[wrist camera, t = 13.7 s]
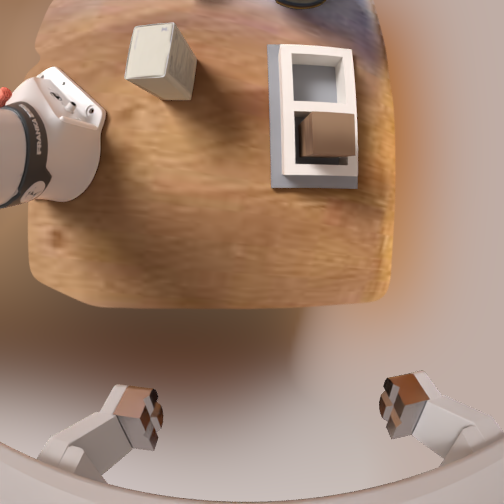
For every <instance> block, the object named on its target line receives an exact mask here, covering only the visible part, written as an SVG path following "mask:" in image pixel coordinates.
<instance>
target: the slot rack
mask: <svg viewBox="0 0 504 504" xmlns="http://www.w3.org/2000/svg"><path fill="white" fill-rule="evenodd" d="M267 55H268V82H269V114H270V155H271V188H346V189H358V132H357V108H356V91H355V78H354V66H353V56H352V49H344V48H335V47H324V46H311V45H291V44H280V45H267ZM312 111H319V112H336V113H349V114H354V118H355V154H356V156H346V157H335V158H317V157H299V131H298V125H299V124H300V123H301V122H302V121H303V120H304V119H305V118H306V117H307V116H308V115H309V114H310V113H311V112H312Z"/></svg>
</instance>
